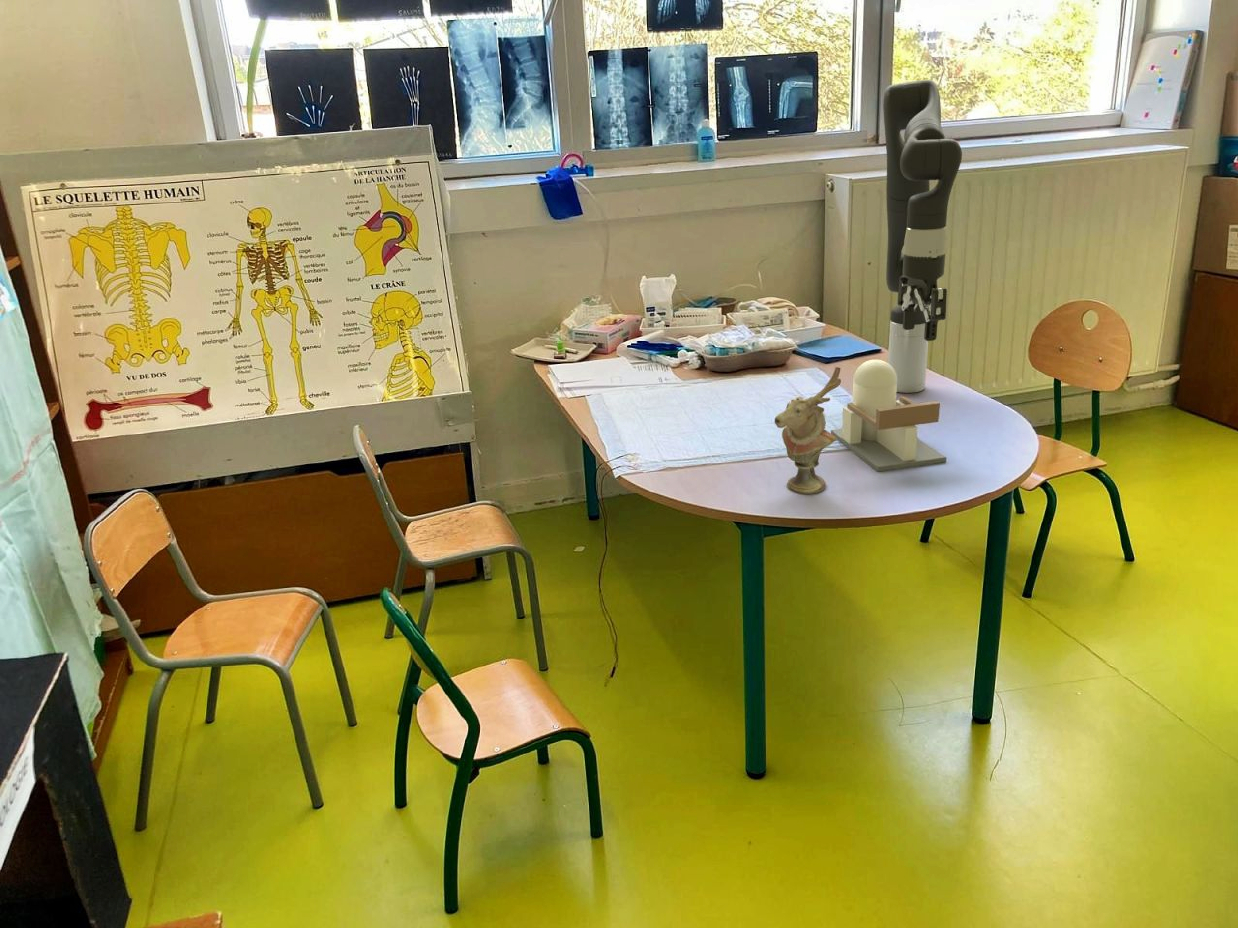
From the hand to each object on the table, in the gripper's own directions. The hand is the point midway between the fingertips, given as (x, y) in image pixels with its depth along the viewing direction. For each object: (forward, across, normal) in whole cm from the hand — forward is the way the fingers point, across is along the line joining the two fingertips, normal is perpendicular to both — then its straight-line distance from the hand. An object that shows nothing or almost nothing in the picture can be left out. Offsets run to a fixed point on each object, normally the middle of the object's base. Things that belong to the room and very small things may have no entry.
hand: (919, 334), depth 181 cm
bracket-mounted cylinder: (+26, -7, -2) cm, 27 cm away
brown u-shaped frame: (+18, -5, -2) cm, 19 cm away
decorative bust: (+26, +7, -27) cm, 38 cm away
